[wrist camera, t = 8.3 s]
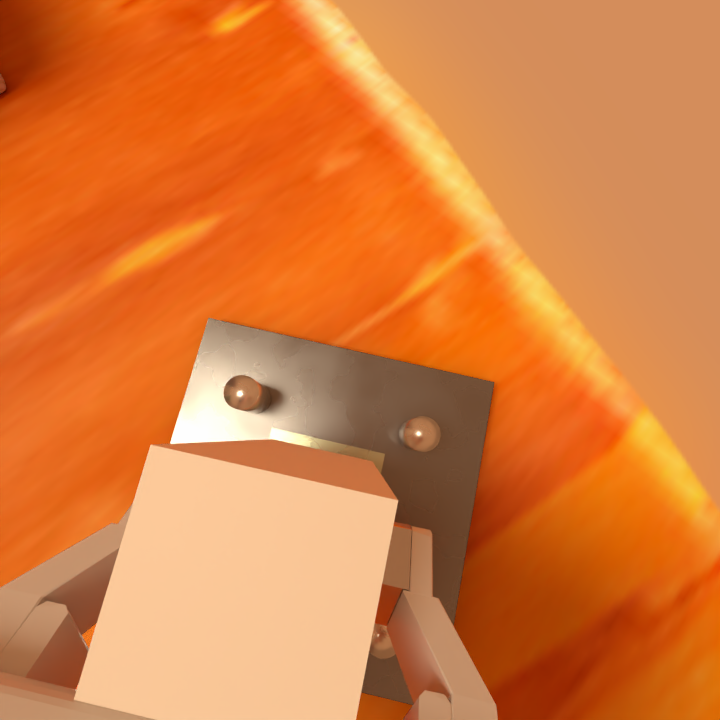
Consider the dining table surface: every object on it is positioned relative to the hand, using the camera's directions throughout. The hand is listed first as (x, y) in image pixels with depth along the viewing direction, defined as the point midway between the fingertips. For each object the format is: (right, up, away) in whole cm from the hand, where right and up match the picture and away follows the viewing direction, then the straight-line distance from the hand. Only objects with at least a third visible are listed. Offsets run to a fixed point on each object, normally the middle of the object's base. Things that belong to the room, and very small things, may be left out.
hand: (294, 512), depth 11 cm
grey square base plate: (-1, -3, +11) cm, 12 cm away
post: (0, -1, +5) cm, 5 cm away
